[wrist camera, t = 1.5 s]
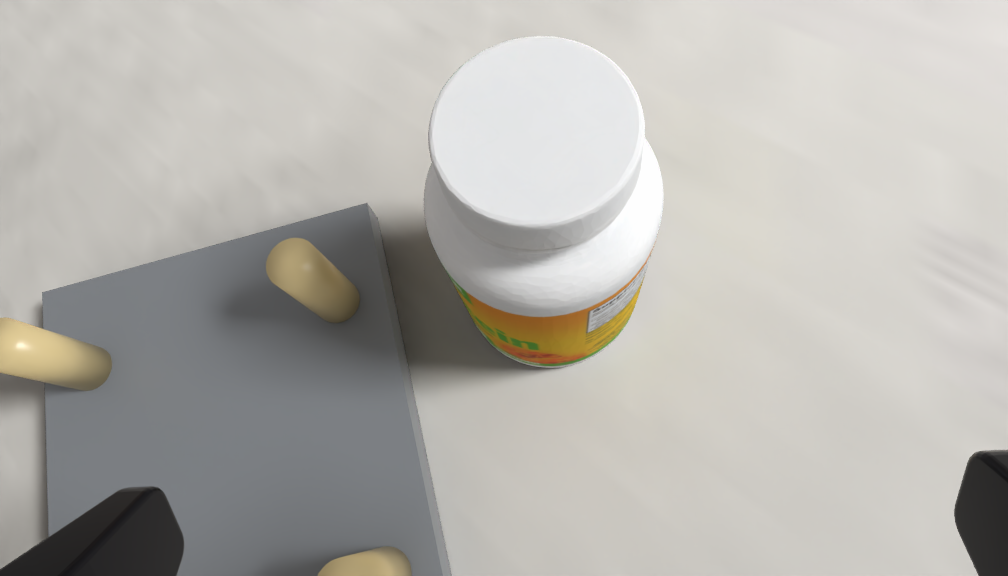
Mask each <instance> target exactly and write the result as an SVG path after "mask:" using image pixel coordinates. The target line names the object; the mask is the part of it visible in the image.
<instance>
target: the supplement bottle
mask: <svg viewBox="0 0 1008 576" xmlns="http://www.w3.org/2000/svg"><path fill="white" fill-rule="evenodd" d="M644 136H645V125H644V115H643V110H642V106H641V103H640V100H639V97H638V95H637V92H636V90H635V88H634V87H633V85H632V84H631V82H630V80H629V79H628V77H627V76H626V75H625V73H624V72H623V71H622V70H621V69H620V68H619V67H618V66H617V65H616V64H615V63H614V62H613V61H612V60H611V59H609V58H608V57H607V56H605V55H604V54H602V53H601V52H599V51H597V50H595V49H594V48H592V47H590V46H587V45H585V44H582V43H580V42H577V41H574V40H570V39H565V38H560V37H550V36H531V37H523V38H517V39H512V40H508V41H505V42H502V43H500V44H497V45H495V46H492V47H489V48H487V49H486V50H484V51H482V52H480V53H479V54H477V55H475V56H474V57H472V58H471V59H470V60H468V61H467V62H466V63H465V64H463V65H462V66H461V67H460V68H459V69H458V70H457V71H456V72H455V73H454V74H453V75H452V76H451V77H450V79H449V80H448V81H447V83H446V84H445V85H444V87H443V88H442V90H441V92H440V94H439V96H438V98H437V100H436V102H435V105H434V107H433V110H432V115H431V119H430V124H429V132H428V141H429V151H430V157H431V160H432V163H431V166H430V168H429V171H428V175H427V178H426V183H425V189H424V214H425V221H426V226H427V230H428V234H429V237H430V240H431V242H432V245H433V247H434V249H435V251H436V253H437V256H438V258H439V260H440V262H441V263H442V265H443V267H444V268H445V270H446V272H447V274H448V275H449V277H450V279H451V281H452V283H453V284H454V286H455V288H456V290H457V292H458V293H459V295H460V297H461V299H462V301H463V303H464V304H465V306H466V308H467V310H468V312H469V314H470V316H471V317H472V319H473V321H474V323H475V325H476V326H477V328H478V329H479V330H480V332H481V333H482V335H483V336H484V337H485V338H486V339H487V341H488V342H489V343H490V344H491V345H492V346H494V347H495V348H496V349H497V350H498V351H500V352H501V353H503V354H504V355H506V356H507V357H509V358H511V359H513V360H516V361H518V362H520V363H523V364H527V365H531V366H535V367H544V368H558V367H566V366H570V365H574V364H577V363H581V362H583V361H585V360H588V359H590V358H592V357H593V356H595V355H597V354H598V353H600V352H601V351H603V350H604V349H605V348H606V347H608V346H609V345H610V344H611V343H612V342H613V341H614V340H615V339H616V338H617V337H618V336H619V334H620V333H621V332H622V330H623V329H624V327H625V326H626V324H627V322H628V320H629V318H630V316H631V314H632V312H633V310H634V307H635V304H636V301H637V298H638V295H639V292H640V288H641V286H642V283H643V279H644V276H645V273H646V270H647V266H648V263H649V260H650V257H651V254H652V251H653V247H654V244H655V242H656V238H657V235H658V231H659V228H660V223H661V218H662V212H663V199H664V195H663V182H662V177H661V172H660V168H659V165H658V162H657V159H656V157H655V154H654V152H653V150H652V148H651V147H650V145H649V143H648V141H647V140H646V138H645V137H644Z"/></svg>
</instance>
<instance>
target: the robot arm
mask: <svg viewBox="0 0 1008 576" xmlns="http://www.w3.org/2000/svg"><path fill="white" fill-rule="evenodd" d="M954 516H955V522H956V526H957V529H958V532H959V534H960V536H961V539H962V541H963V543H964V545H965V547H966V549H967V552H968V554H969V556H970V558H971V560H972V562H973V565H974V567H975V569H976V571H977V573H978V575H979V576H1008V450H991V451H979V452H976V453H974V454H973V455H972V456H971V457H970V458H969V460H968V463H967V466H966V470H965V473H964V476H963V480H962V483H961V487H960V490H959V494H958V497H957V500H956V504H955V510H954ZM183 553H184V537H183V533H182V531H181V528H180V526H179V524H178V522H177V519H176V517H175V515H174V513H173V511H172V508H171V506H170V504H169V502H168V499H167V497H166V495H165V493H164V492H163V491H162V490H161V489H160V488H158V487H154V486H146V487H128V488H123V489H120V490H118V491H117V492H115V493H114V494H112V495H111V496H109V497H108V498H106V499H105V500H103V501H102V502H100V503H99V504H97V505H96V506H94V507H93V508H91V509H90V510H88V511H87V512H85V513H84V514H82V515H81V516H79V517H78V518H76V519H75V520H73V521H72V522H70V523H69V524H67V525H66V526H64V527H63V528H61V529H60V530H58V531H57V532H55V533H54V534H52V535H51V536H49V537H48V538H46V539H45V540H43V541H42V542H40V543H39V544H37V545H36V546H34V547H33V548H31V549H30V550H28V551H27V552H25V553H24V554H22V555H21V556H19V557H18V558H17V559H15V560H14V561H12V562H11V563H9V564H8V565H6V566H5V567H3V568H2V569H0V576H177V573H178V570H179V567H180V564H181V561H182V557H183Z"/></svg>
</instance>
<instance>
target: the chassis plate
mask: <svg viewBox="0 0 1008 576" xmlns="http://www.w3.org/2000/svg"><path fill="white" fill-rule="evenodd" d="M42 301H43V329H42V328H39V327H36V326H32V325H29V324H26V323H23V322H20V321H17V320H14V319H11V318H0V373H4V374H9V375H13V376H18V377H22V378H27V379H31V380H36V381H41V382H45V417H46V456H47V495H48V533H49V536H51V535H52V534H54V533H55V532H57V531H58V530H60V529H61V528H63V527H64V526H66V525H67V524H69V523H70V522H72V521H73V520H75V519H76V518H78V517H79V516H81V515H82V514H84V513H85V512H87V511H88V510H90V509H91V508H93V507H94V506H96V505H97V504H99V503H100V502H102V501H103V500H105V499H106V498H108V497H109V496H111V495H112V494H114V493H115V492H117V491H118V490H120V489H123V488H128V487H146V486H154V487H158V488H160V489H161V490H162V491H163V492H164V493H165V495H166V497H167V499H168V502H169V504H170V506H171V508H172V511H173V513H174V515H175V517H176V519H177V522H178V524H179V526H180V528H181V531H182V533H183V537H184V553H183V557H182V561H181V564H180V567H179V570H178V573H177V576H452V575H451V570H450V565H449V560H448V556H447V551H446V546H445V541H444V536H443V531H442V527H441V522H440V517H439V512H438V507H437V503H436V498H435V493H434V488H433V483H432V478H431V474H430V469H429V464H428V459H427V454H426V450H425V445H424V440H423V435H422V430H421V425H420V421H419V416H418V411H417V406H416V401H415V397H414V392H413V387H412V382H411V377H410V373H409V368H408V363H407V358H406V353H405V348H404V344H403V339H402V334H401V329H400V324H399V320H398V315H397V310H396V305H395V300H394V295H393V291H392V286H391V281H390V276H389V271H388V267H387V262H386V257H385V252H384V247H383V242H382V238H381V233H380V228H379V223H378V218H377V217H376V215H375V214H374V212H373V211H372V209H371V208H370V207H369V205H368V204H367V203H365V204H362V205H358V206H354V207H351V208H347V209H344V210H340V211H336V212H333V213H329V214H325V215H322V216H318V217H315V218H311V219H307V220H304V221H300V222H296V223H293V224H289V225H285V226H282V227H278V228H275V229H271V230H267V231H264V232H260V233H256V234H253V235H249V236H246V237H242V238H238V239H235V240H231V241H227V242H224V243H220V244H216V245H213V246H209V247H206V248H202V249H198V250H195V251H191V252H187V253H184V254H180V255H177V256H173V257H169V258H166V259H162V260H158V261H155V262H151V263H148V264H144V265H140V266H137V267H133V268H129V269H126V270H122V271H118V272H115V273H111V274H108V275H104V276H100V277H97V278H93V279H89V280H86V281H82V282H79V283H75V284H71V285H68V286H64V287H60V288H57V289H53V290H49V291H46V292H42Z"/></svg>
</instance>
